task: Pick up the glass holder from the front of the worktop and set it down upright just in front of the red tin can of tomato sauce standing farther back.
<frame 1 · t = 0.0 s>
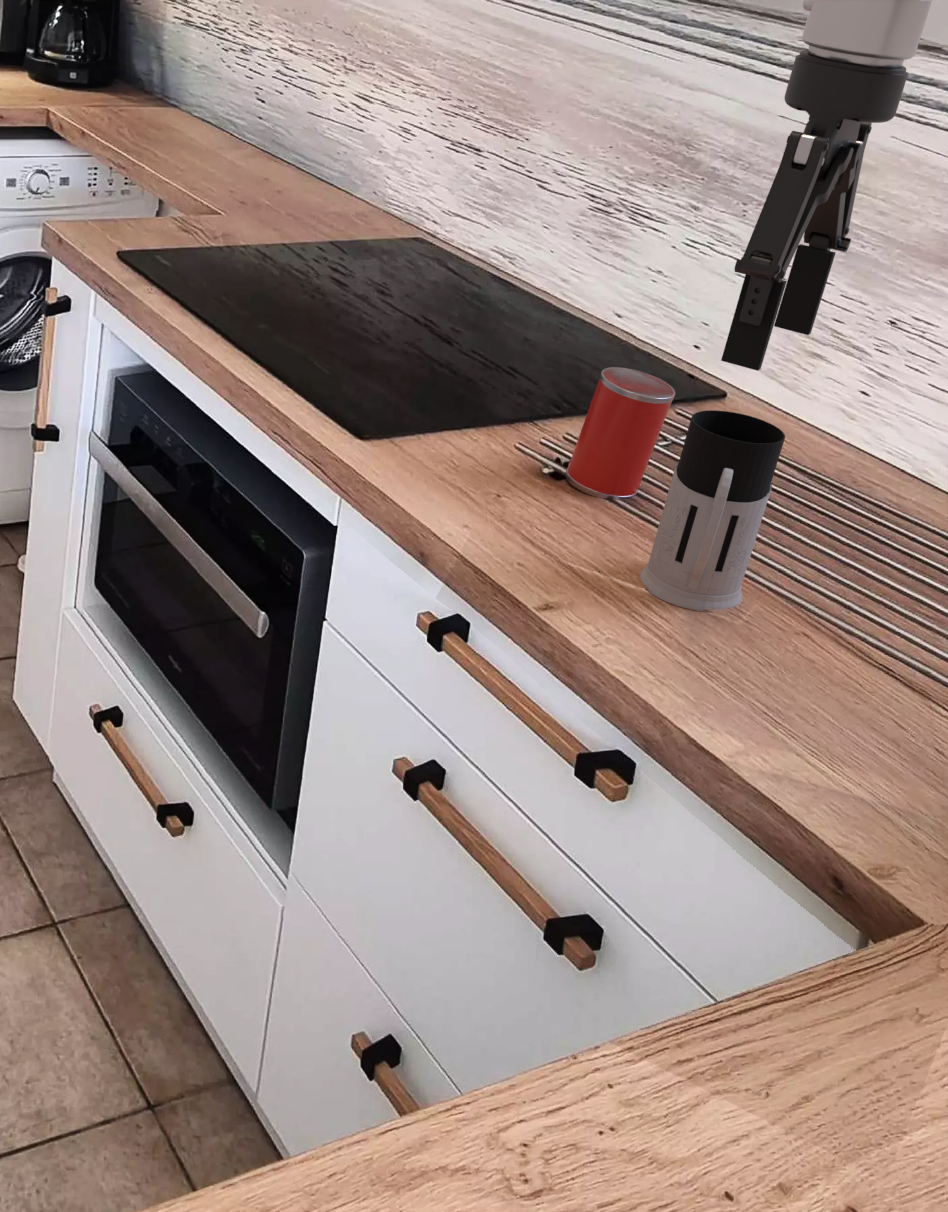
hand: (767, 347, 121), 24 cm above the table, tool pointing down, fingers open, 13 cm apart
glass holder: (687, 602, 135), on the table
sauce can: (600, 484, 157), on the table, tilted 6°
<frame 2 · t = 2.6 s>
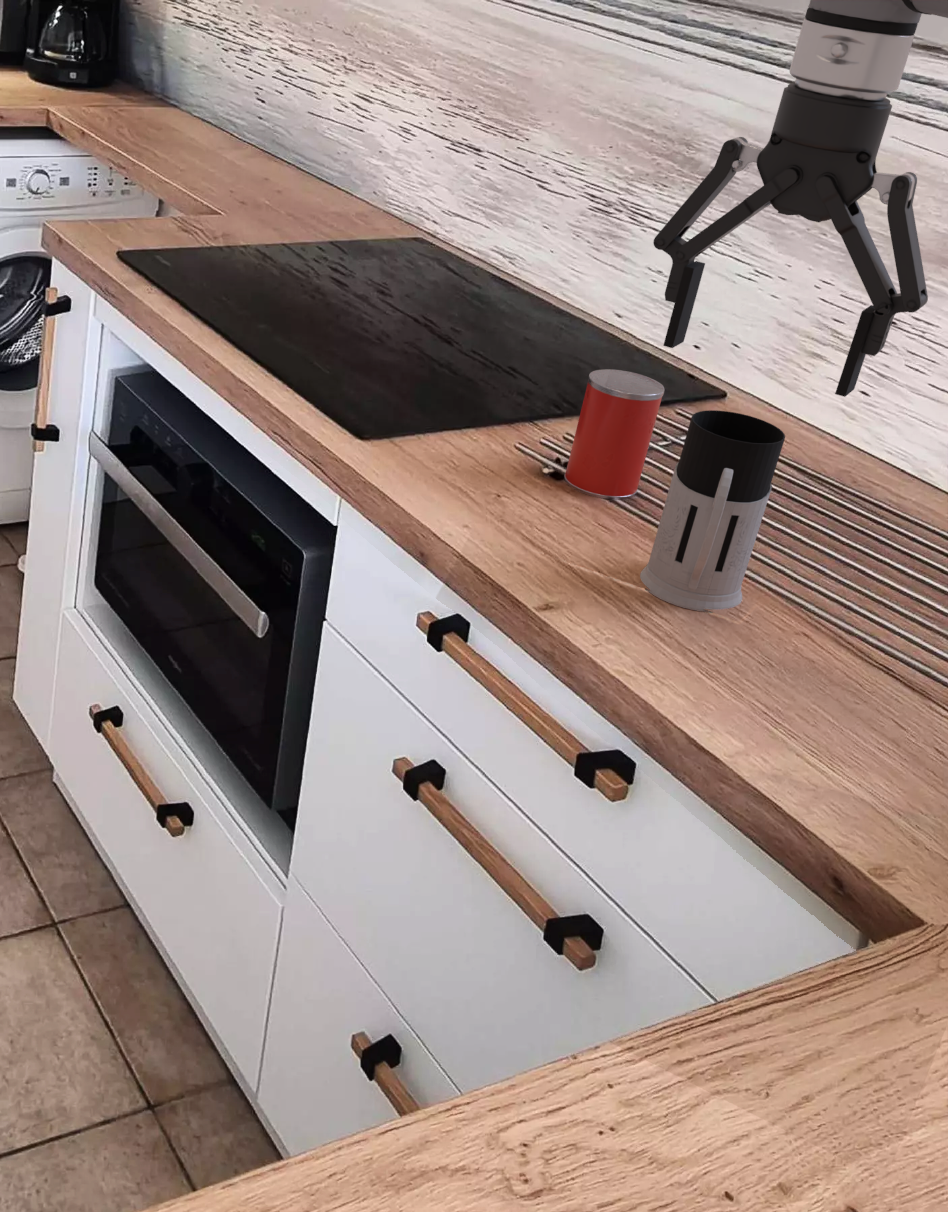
hand: (756, 367, 125), 21 cm above the table, tool pointing down, fingers open, 13 cm apart
sauce can: (599, 487, 157), on the table
everything else where it was.
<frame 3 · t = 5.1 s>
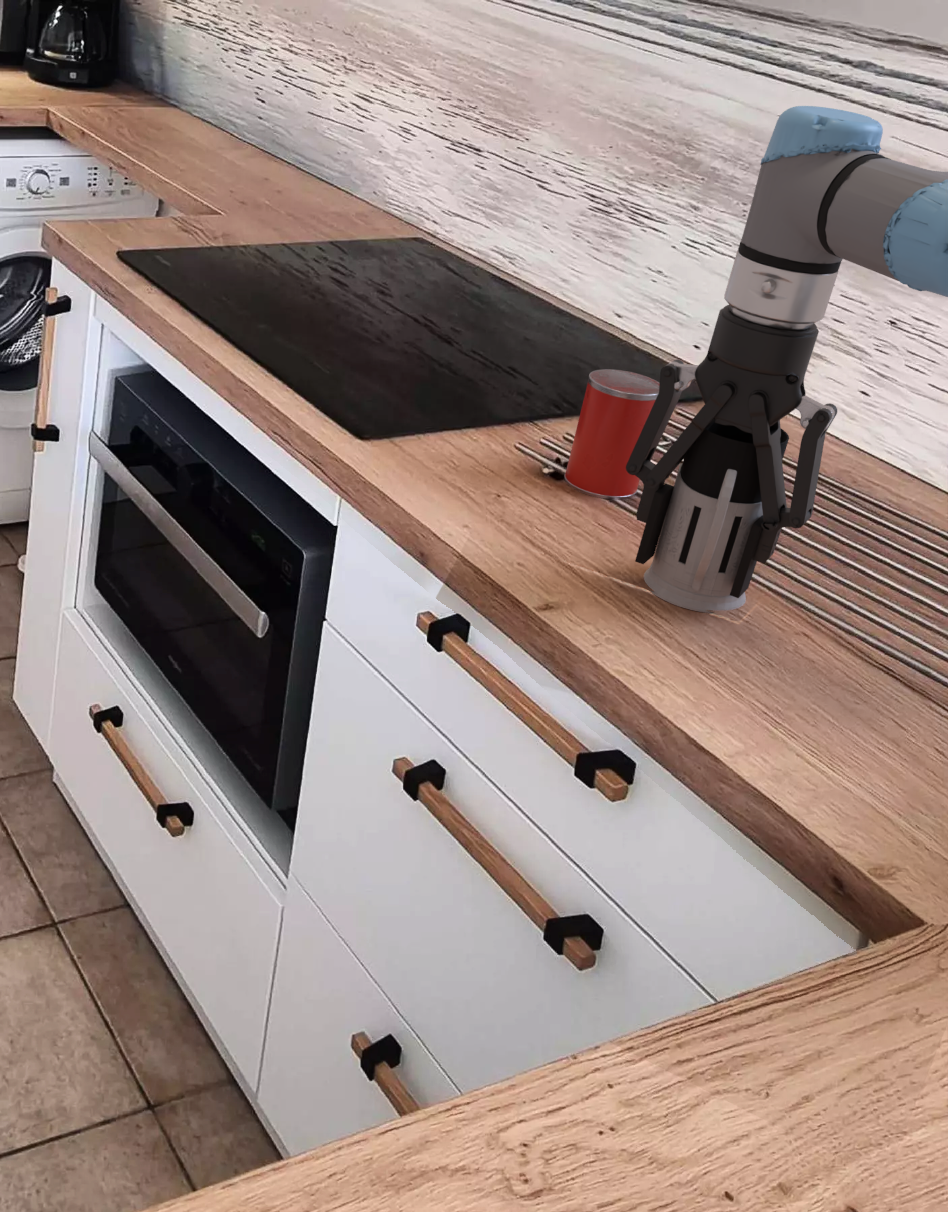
hand: (691, 574, 134), 2 cm above the table, tool pointing down, fingers closed on glass holder, 7 cm apart
glass holder: (690, 603, 135), on the table, touching gripper
everything else where it was.
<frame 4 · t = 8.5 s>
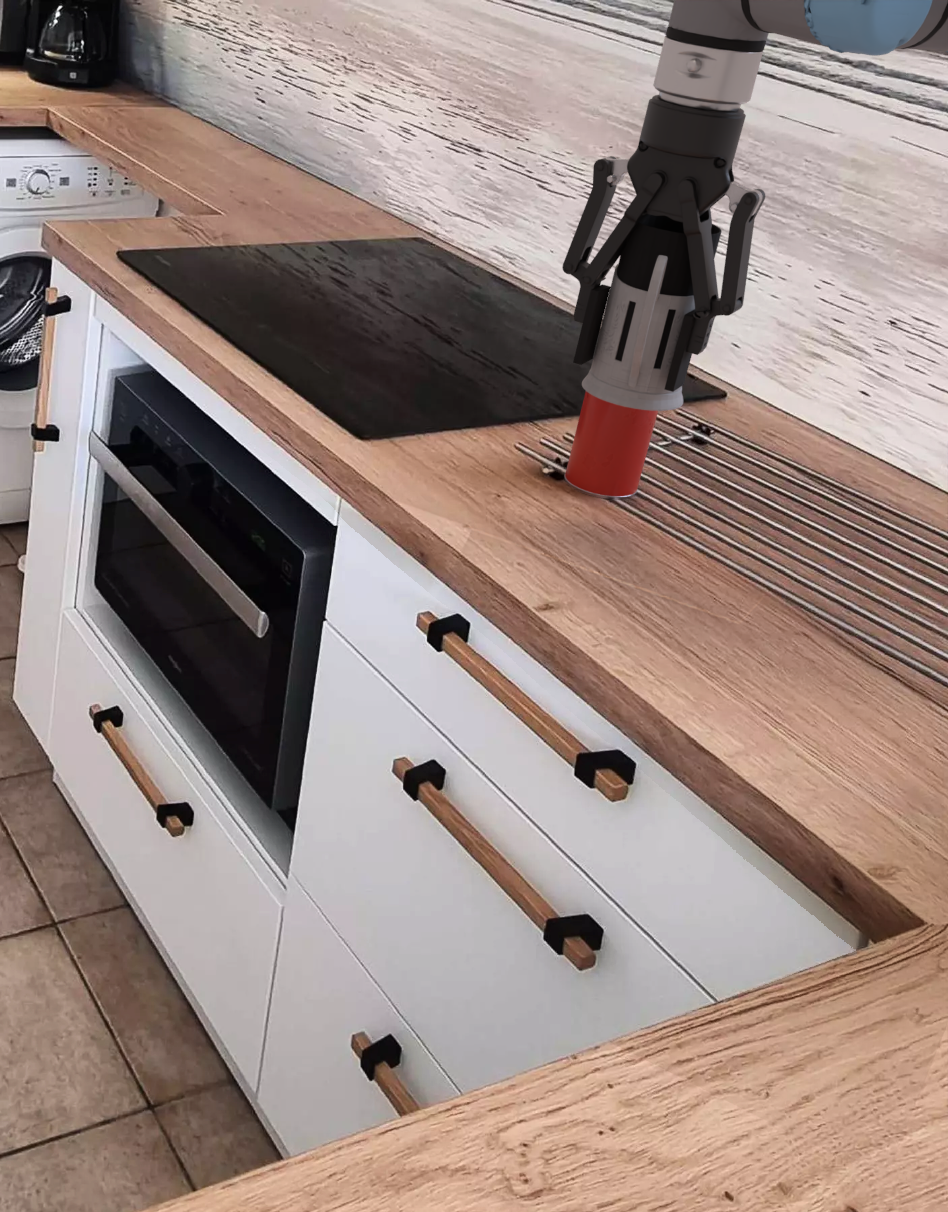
hand: (627, 373, 136), 16 cm above the table, tool pointing down, fingers closed on glass holder, 7 cm apart
glass holder: (627, 403, 137), point 14 cm above the table, touching gripper
everything else where it was.
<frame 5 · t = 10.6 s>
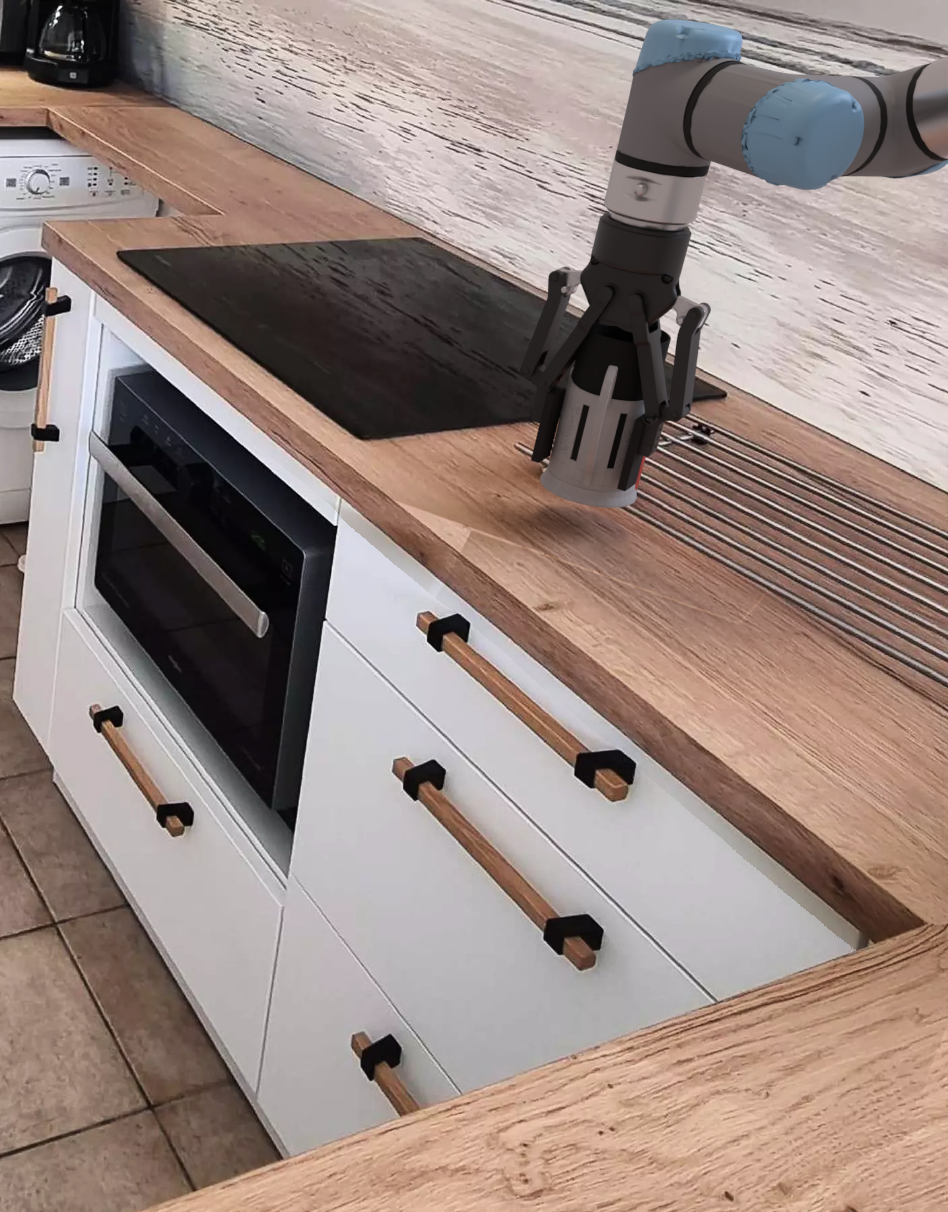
hand: (582, 471, 142), 6 cm above the table, tool pointing down, fingers closed on glass holder, 7 cm apart
glass holder: (583, 500, 143), point 4 cm above the table, touching gripper
everything else where it was.
when the fingers open (2 cm above the table, at t = 12.0 s): glass holder stays where it is, on the table.
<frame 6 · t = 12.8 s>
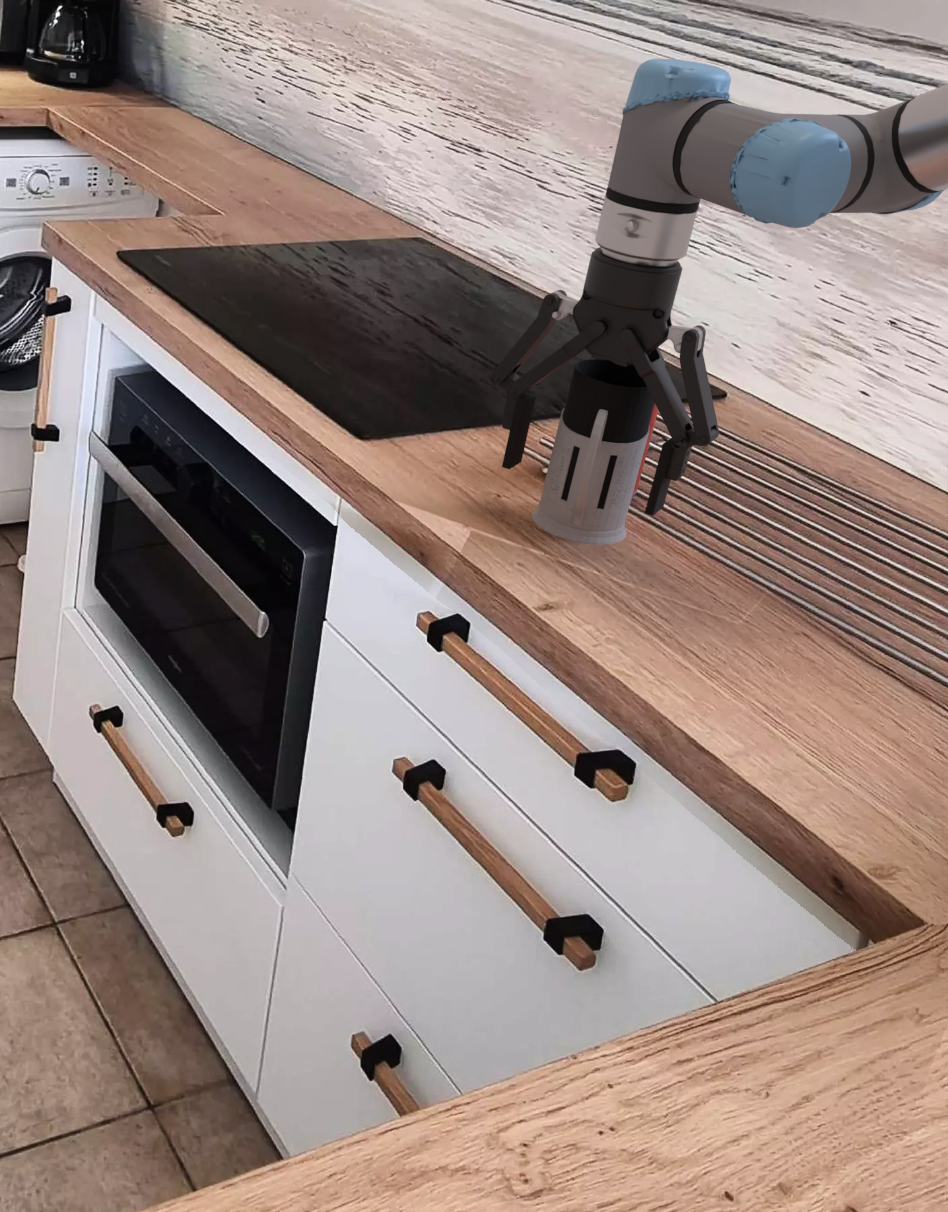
hand: (580, 487, 143), 5 cm above the table, tool pointing down, fingers open, 13 cm apart
glass holder: (573, 539, 145), on the table
everything else where it was.
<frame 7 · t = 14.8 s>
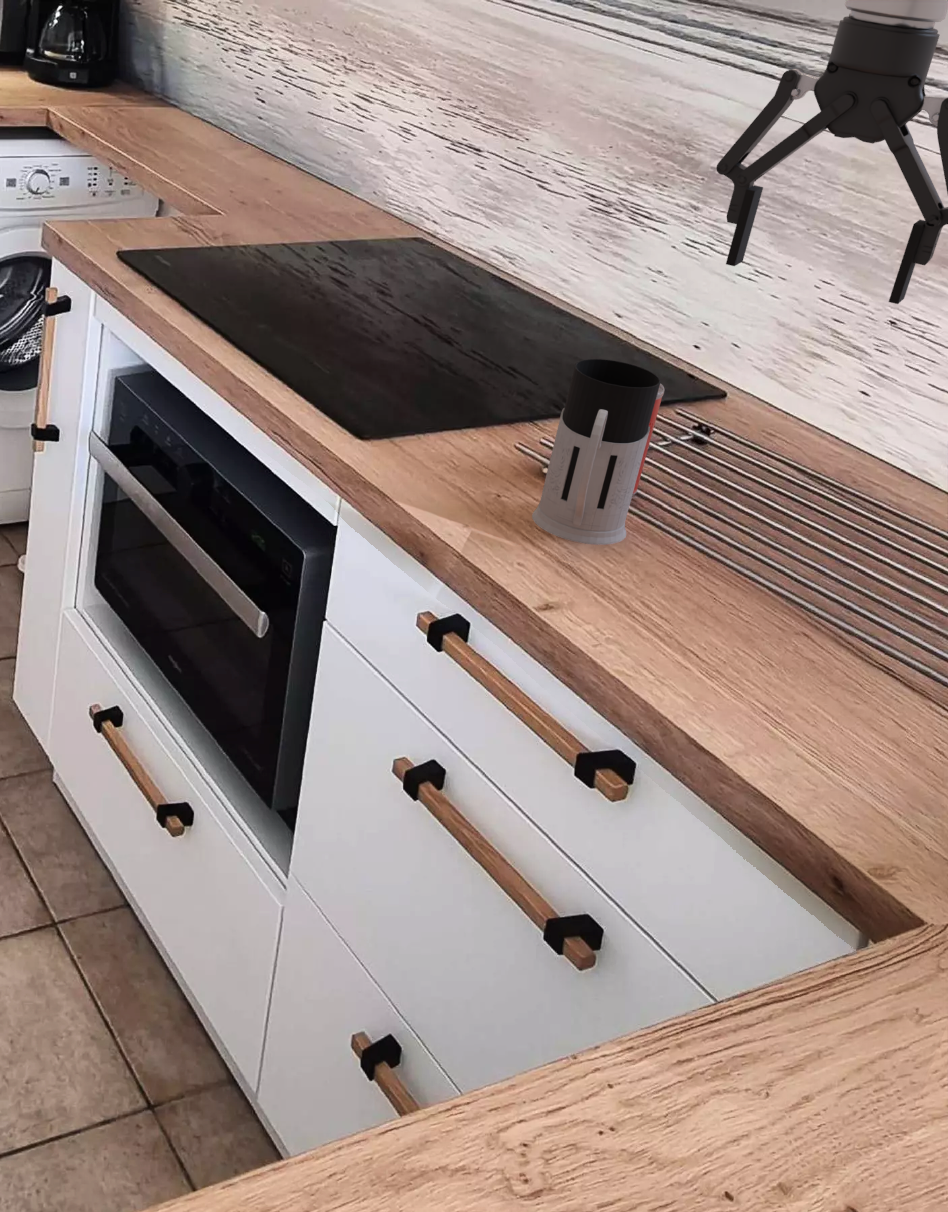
hand: (813, 281, 136), 25 cm above the table, tool pointing down, fingers open, 13 cm apart
nothing on the table moved.
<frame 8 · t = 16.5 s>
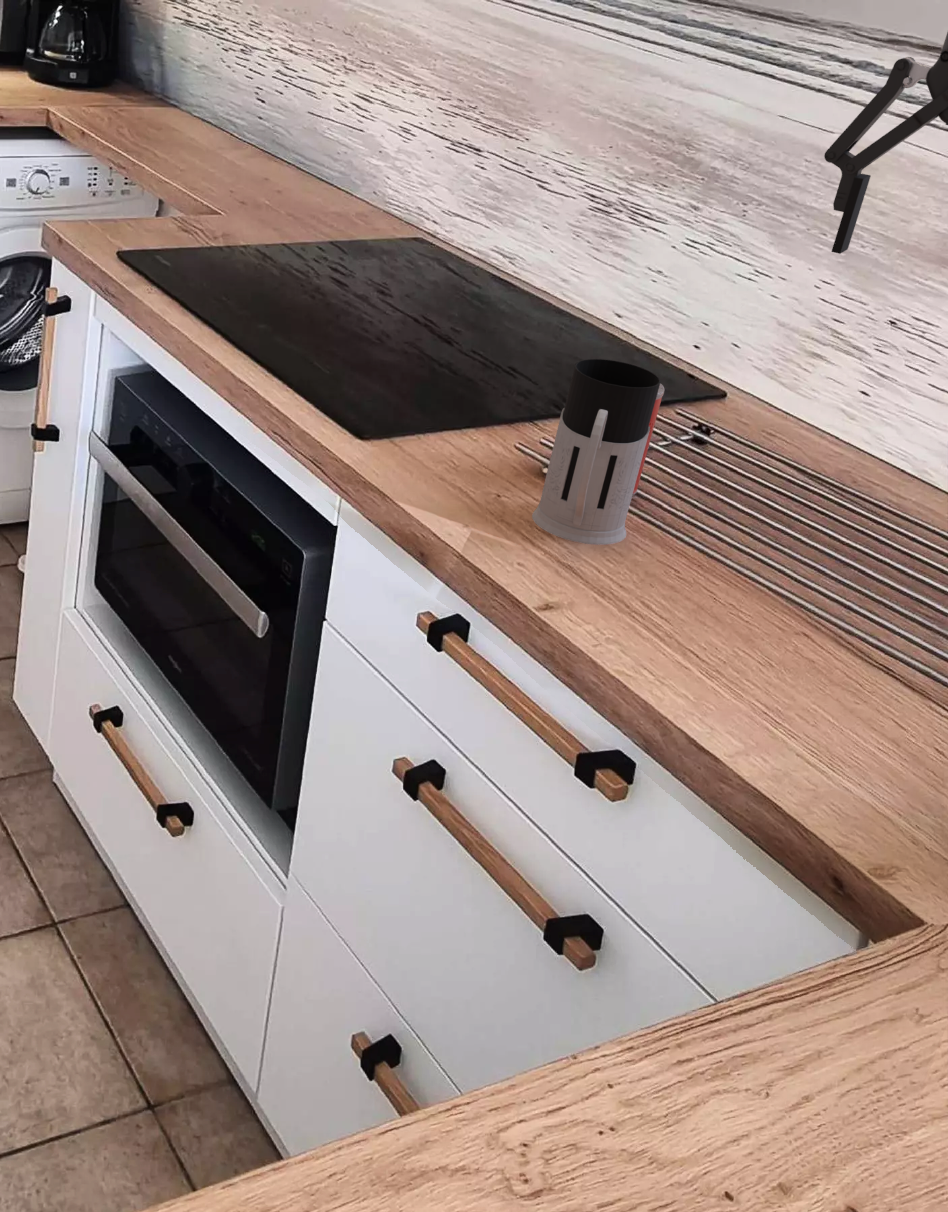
hand: (919, 269, 137), 27 cm above the table, tool pointing down, fingers open, 13 cm apart
nothing on the table moved.
at the end: glass holder inside the target area on the table beside the sauce can (2.1 cm from its centre), on the table; glass holder tilted 0°; sauce can moved 0.3 cm from its start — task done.
